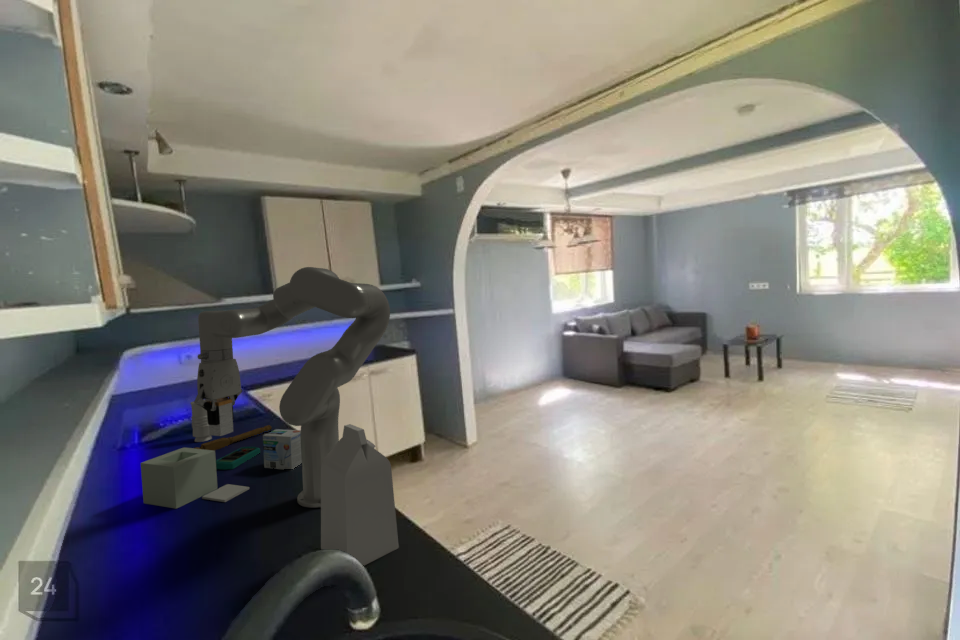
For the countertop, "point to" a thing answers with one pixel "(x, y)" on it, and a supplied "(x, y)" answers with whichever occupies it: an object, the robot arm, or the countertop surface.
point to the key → (223, 418)
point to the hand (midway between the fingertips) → (221, 421)
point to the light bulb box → (282, 449)
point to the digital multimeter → (236, 458)
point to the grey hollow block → (178, 477)
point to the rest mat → (225, 493)
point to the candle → (200, 423)
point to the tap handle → (231, 439)
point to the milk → (357, 499)
